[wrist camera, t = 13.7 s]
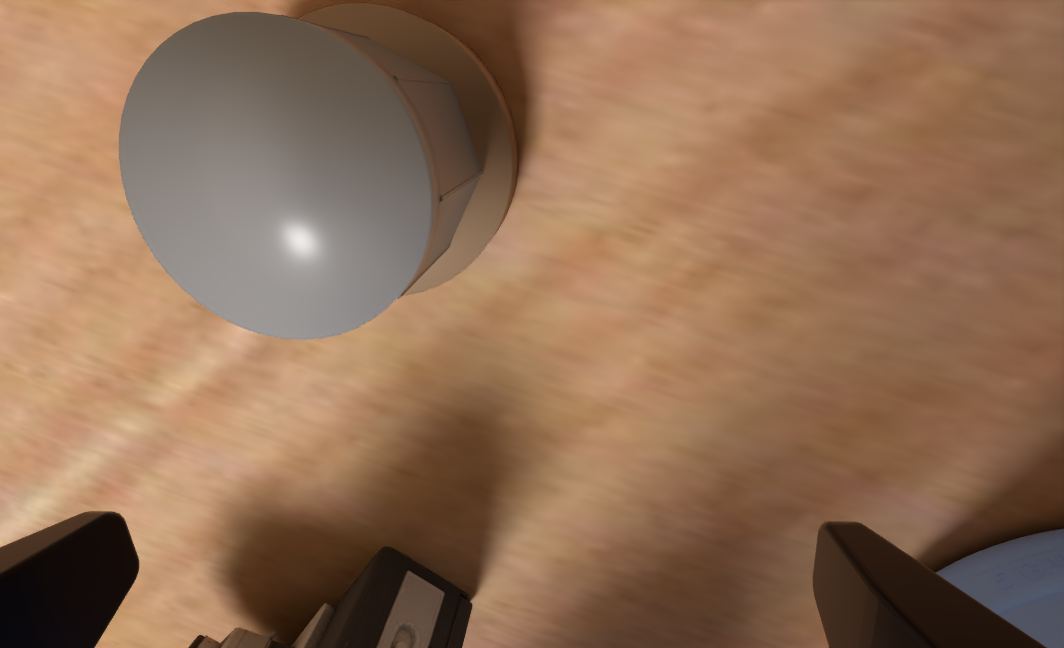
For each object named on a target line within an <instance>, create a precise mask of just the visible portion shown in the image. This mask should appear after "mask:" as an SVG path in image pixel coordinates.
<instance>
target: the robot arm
mask: <svg viewBox="0 0 1064 648" xmlns="http://www.w3.org/2000/svg"><path fill="white" fill-rule="evenodd" d="M138 571H139V558H138V555H137V552H136V550H135V547H134V544H133V541H132V538H131V535H130V533H129V530H128V527H127V524H126V521H125V519H124V518H123V517H122V516H121V515H120V514H119V513H116V512H112V511H89V512H84V513H81V514H79V515H76V516H74V517H71V518H69V519H67V520H64V521H62V522H60V523H57V524H55V525H52V526H50V527H48V528H45V529H43V530H41V531H38V532H36V533H33V534H31V535H29V536H26V537H24V538H22V539H19V540H17V541H14V542H12V543H10V544H7V545H5V546H3V547H0V648H95V646H96V644H97V643H98V641H99V639H100V638H101V636H102V634H103V633H104V631H105V629H106V628H107V626H108V625H109V623H110V621H111V620H112V618H113V616H114V615H115V613H116V611H117V610H118V608H119V606H120V605H121V603H122V601H123V600H124V598H125V596H126V595H127V593H128V591H129V590H130V588H131V587H132V585H133V583H134V581H135V580H136V577H137V575H138ZM813 590H814V596H815V600H816V604H817V607H818V610H819V614H820V617H821V621H822V624H823V627H824V631H825V634H826V638H827V641H828V644H829V648H1047V647H1045V646H1044V645H1042V644H1041V643H1039V642H1038V641H1036V640H1035V639H1033V638H1032V637H1030V636H1029V635H1027V634H1026V633H1025V632H1023V631H1022V630H1020V629H1019V628H1017V627H1016V626H1014V625H1013V624H1011V623H1010V622H1008V621H1007V620H1005V619H1004V618H1002V617H1001V616H999V615H998V614H996V613H995V612H993V611H992V610H990V609H989V608H987V607H986V606H984V605H983V604H981V603H980V602H978V601H977V600H975V599H974V598H972V597H971V596H969V595H968V594H966V593H965V592H963V591H962V590H960V589H959V588H957V587H956V586H954V585H953V584H951V583H950V582H948V581H947V580H945V579H944V578H942V577H941V576H939V575H938V574H936V573H935V572H933V571H932V570H930V569H929V568H927V567H926V566H924V565H923V564H922V563H920V562H919V561H917V560H916V559H914V558H913V557H911V556H910V555H908V554H907V553H905V552H904V551H902V550H901V549H899V548H898V547H896V546H895V545H893V544H892V543H890V542H889V541H887V540H886V539H884V538H883V537H881V536H880V535H878V534H877V533H875V532H874V531H872V530H871V529H869V528H868V527H866V526H865V525H863V524H861V523H858V522H837V521H827V522H824V523H823V524H822V525H821V526H820V528H819V531H818V537H817V545H816V554H815V562H814V571H813Z"/></svg>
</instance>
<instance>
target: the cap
mask: <svg viewBox="0 0 1064 648" xmlns="http://www.w3.org/2000/svg"><path fill="white" fill-rule="evenodd" d="M119 160H120V169H121V177H122V182H123V186H124V190H125V194H126V198H127V201H128V204H129V207H130V210H131V212H132V215H133V218H134V220H135V222H136V224H137V226H138V228H139V231H140V233H141V235H142V237H143V239H144V240H145V242H146V244H147V245H148V247H149V248H150V250H151V252H152V253H153V255H154V256H155V258H156V259H157V260H158V262H159V263H160V264H161V265H162V267H163V268H164V269H165V271H166V272H167V273H168V274H169V275H170V276H171V277H172V278H173V280H174V281H175V282H176V283H177V284H178V285H179V286H180V287H181V288H182V289H183V290H184V291H185V292H187V293H188V294H189V295H190V296H191V297H192V298H194V299H195V300H196V301H197V302H198V303H200V304H201V305H203V306H204V307H206V308H207V309H208V310H210V311H211V312H213V313H214V314H216V315H218V316H220V317H222V318H223V319H225V320H227V321H229V322H231V323H233V324H235V325H237V326H240V327H242V328H245V329H247V330H249V331H253V332H256V333H260V334H263V335H266V336H271V337H277V338H283V339H298V340H308V339H320V338H326V337H331V336H335V335H340V334H342V333H345V332H348V331H350V330H353V329H356V328H358V327H360V326H361V325H363V324H365V323H367V322H369V321H371V320H372V319H374V318H375V317H376V316H378V315H379V314H380V313H382V312H383V311H384V310H385V309H387V308H388V307H389V306H390V305H391V304H392V303H393V302H394V300H395V299H396V298H398V299H399V298H400V297H402V296H403V295H404V294H405V293H406V292H407V291H408V290H409V289H410V287H411V286H412V285H413V284H414V283H415V282H416V281H417V280H418V279H419V278H420V277H421V276H422V275H423V274H424V273H425V272H426V271H427V270H428V269H429V268H430V267H431V266H432V265H433V264H434V263H435V262H436V261H437V260H438V259H439V258H440V257H441V256H442V255H443V254H444V253H445V252H446V251H447V249H448V248H449V245H450V243H451V240H452V238H453V236H454V234H455V232H456V229H457V227H458V225H459V223H460V221H461V218H462V216H463V214H464V212H465V209H466V207H467V205H468V203H469V201H470V198H471V196H472V194H473V192H474V190H475V187H476V185H477V183H478V181H479V178H480V176H481V174H483V170H482V169H481V166H480V163H479V160H478V157H477V154H476V151H475V149H474V146H473V143H472V140H471V137H470V134H469V132H468V129H467V126H466V123H465V120H464V117H463V114H462V112H461V109H460V106H459V103H458V100H457V97H456V94H455V92H454V89H453V86H452V83H451V81H449V80H446V79H444V78H442V77H440V76H438V75H436V74H434V73H433V72H431V71H429V70H427V69H425V68H423V67H421V66H419V65H417V64H416V63H414V62H412V61H410V60H408V59H406V58H404V57H402V56H401V55H399V54H397V53H395V52H393V51H391V50H389V49H387V48H386V47H384V46H382V45H380V44H378V43H376V42H374V41H372V40H370V38H369V37H366V36H362V35H358V34H354V33H350V32H346V31H343V30H339V29H335V28H331V27H327V26H323V25H319V24H315V23H311V22H307V21H303V20H299V19H295V18H291V17H288V16H284V15H281V16H280V15H274V14H267V13H260V12H233V13H227V14H221V15H215V16H211V17H209V18H206V19H203V20H200V21H197V22H194V23H192V24H190V25H189V26H187V27H185V28H183V29H181V30H179V31H178V32H176V33H174V34H173V35H172V36H171V37H169V38H168V39H167V40H166V41H164V42H163V43H162V44H161V45H160V46H159V47H158V48H157V49H156V50H155V51H154V52H153V53H152V54H151V56H150V57H149V58H148V59H147V60H146V62H145V63H144V65H143V66H142V68H141V69H140V71H139V72H138V74H137V76H136V77H135V79H134V82H133V84H132V86H131V88H130V91H129V93H128V95H127V99H126V102H125V106H124V110H123V113H122V118H121V126H120V133H119Z"/></svg>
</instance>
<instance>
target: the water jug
mask: <svg viewBox="0 0 1064 648" xmlns="http://www.w3.org/2000/svg"><path fill="white" fill-rule="evenodd" d="M936 574H938V575H939V576H941V577H942V578H944V579H945V580H947V581H948V582H950V583H951V584H953V585H954V586H956V587H957V588H959V589H960V590H962V591H963V592H965V593H966V594H968V595H969V596H971V597H972V598H974V599H975V600H977V601H978V602H980V603H981V604H983V605H984V606H986V607H987V608H989V609H990V610H992V611H993V612H995V613H996V614H998V615H999V616H1001V617H1002V618H1004V619H1005V620H1007V621H1008V622H1010V623H1011V624H1013V625H1014V626H1016V627H1017V628H1019V629H1020V630H1022V631H1023V632H1025V633H1026V634H1027V635H1029V636H1030V637H1032V638H1033V639H1035V640H1036V641H1038V642H1039V643H1041V644H1042V645H1044V646H1045V647H1047V648H1064V529H1058V530H1052V531H1047V532H1042V533H1037V534H1033V535H1029V536H1024V537H1021V538H1017V539H1013V540H1010V541H1007V542H1004V543H1001V544H997V545H995V546H992V547H989V548H986V549H984V550H981V551H979V552H976V553H974V554H971V555H969V556H967V557H965V558H963V559H960V560H958V561H956V562H954V563H952V564H950V565H948V566H947V567H945V568H943V569H941V570H939V571H938V572H936Z"/></svg>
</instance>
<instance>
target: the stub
mask: <svg viewBox="0 0 1064 648" xmlns="http://www.w3.org/2000/svg"><path fill="white" fill-rule="evenodd" d="M298 19H299V20H303V21H307V22H311V23H315V24H319V25H323V26H327V27H331V28H335V29H339V30H343V31H346V32H350V33H354V34H358V35H362V36H366V37H369V38H370V40H372V41H374V42H376V43H378V44H380V45H382V46H384V47H386V48H387V49H389V50H391V51H393V52H395V53H397V54H399V55H401V56H402V57H404V58H406V59H408V60H410V61H412V62H414V63H416V64H417V65H419V66H421V67H423V68H425V69H427V70H429V71H431V72H433V73H434V74H436V75H438V76H440V77H442V78H444V79H446V80H449V81H451V83H452V86H453V89H454V92H455V94H456V97H457V100H458V103H459V106H460V109H461V112H462V114H463V117H464V120H465V123H466V126H467V129H468V132H469V134H470V137H471V140H472V143H473V146H474V149H475V151H476V154H477V157H478V160H479V163H480V166H481V169H482V170H483V174H481V176H480V178H479V181H478V183H477V185H476V187H475V190H474V192H473V194H472V196H471V198H470V201H469V203H468V205H467V207H466V209H465V212H464V214H463V216H462V218H461V221H460V223H459V225H458V227H457V229H456V232H455V234H454V236H453V238H452V240H451V243H450V245H449V248H448V249H447V251H446V252H445V253H444V254H443V255H442V256H441V257H440V258H439V259H438V260H437V261H436V262H435V263H434V264H433V265H432V266H431V267H430V268H429V269H428V270H427V271H426V272H425V273H424V274H423V275H422V276H421V277H420V278H419V279H418V280H417V281H416V282H415V283H414V284H413V285H412V286H411V287H410V289H409V290H408V291H407V292H406V293H405V294H404V295H410V294H414V293H419V292H423V291H426V290H429V289H431V288H434V287H437V286H439V285H441V284H443V283H445V282H447V281H448V280H450V279H452V278H454V277H455V276H456V275H458V274H459V273H460V272H462V271H463V270H464V269H466V268H467V267H468V266H469V265H470V264H471V263H472V262H473V261H474V260H475V259H476V258H477V257H478V256H479V255H480V254H481V252H482V251H483V250H484V248H485V247H486V246H487V244H488V243H489V242H490V240H491V239H492V238H493V236H494V235H495V234H496V232H497V231H498V229H499V227H500V226H501V224H502V222H503V220H504V219H505V217H506V214H507V212H508V209H509V207H510V204H511V202H512V198H513V194H514V190H515V186H516V180H517V172H518V146H517V139H516V131H515V127H514V124H513V120H512V116H511V112H510V110H509V107H508V105H507V102H506V100H505V97H504V95H503V93H502V91H501V89H500V88H499V86H498V84H497V82H496V80H495V78H494V77H493V76H492V74H491V73H490V72H489V70H488V69H487V67H486V66H485V65H484V63H483V62H482V61H481V60H480V59H479V58H478V57H477V56H476V55H475V53H474V52H473V51H472V50H471V49H470V48H469V47H467V46H466V45H465V44H464V43H463V42H461V41H460V40H459V39H458V38H457V37H455V36H454V35H452V34H451V33H449V32H447V31H446V30H444V29H443V28H441V27H439V26H437V25H435V24H433V23H431V22H428V21H426V20H424V19H422V18H420V17H417V16H415V15H413V14H410V13H408V12H406V11H403V10H399V9H396V8H392V7H389V6H385V5H378V4H371V3H344V4H338V5H332V6H327V7H324V8H321V9H318V10H315V11H312V12H309V13H307V14H305V15H303V16H301V17H300V18H298Z"/></svg>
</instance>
